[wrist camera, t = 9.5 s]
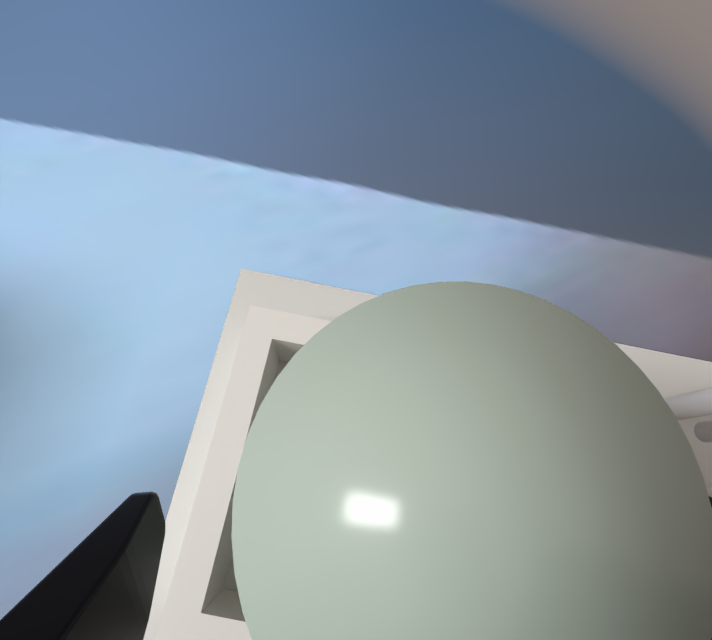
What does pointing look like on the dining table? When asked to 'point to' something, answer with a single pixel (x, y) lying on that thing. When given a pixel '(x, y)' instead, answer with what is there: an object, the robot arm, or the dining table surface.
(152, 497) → the robot arm
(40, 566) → the dining table surface
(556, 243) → the dining table surface
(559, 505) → the sage green domed cylinder
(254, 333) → the dish drying rack
